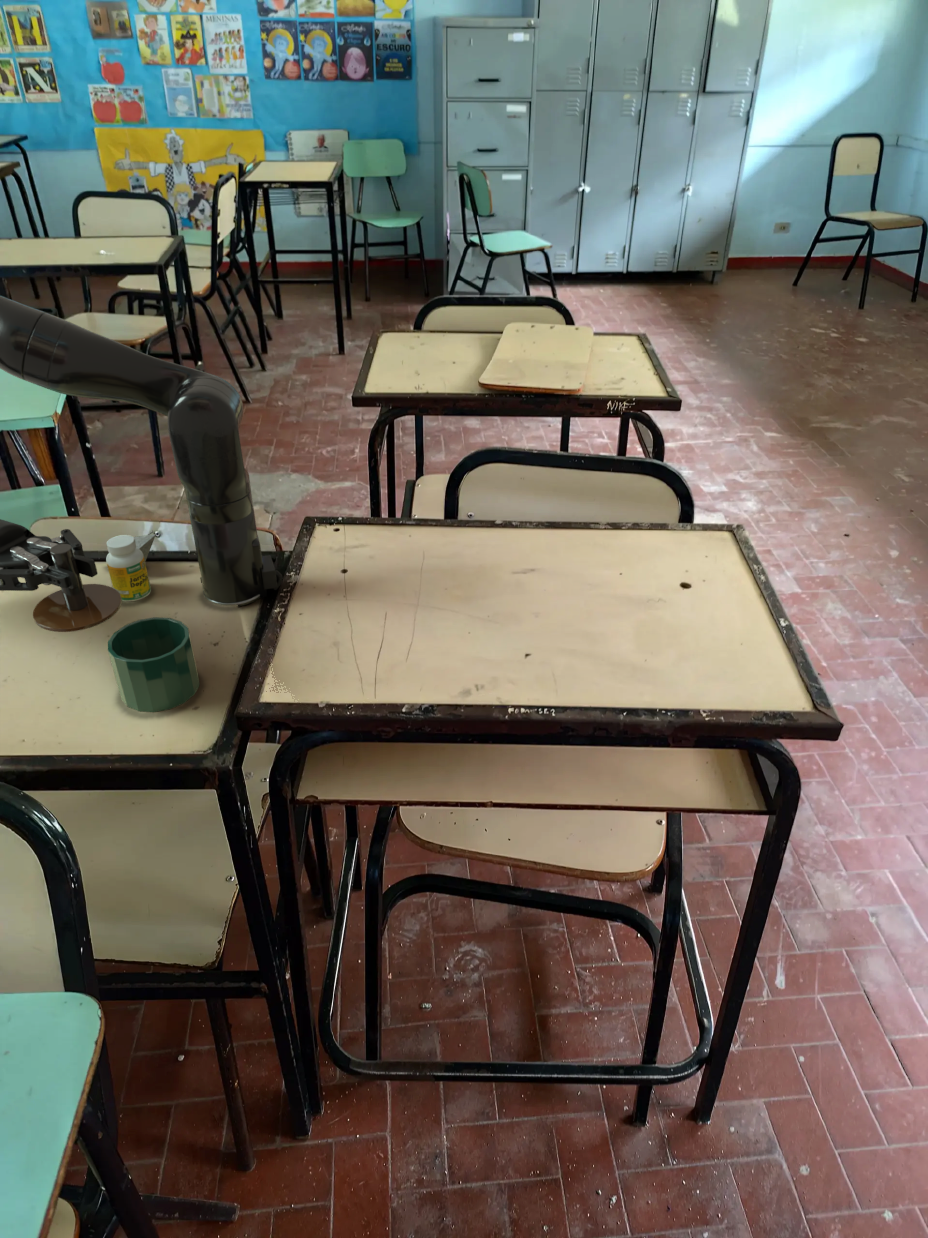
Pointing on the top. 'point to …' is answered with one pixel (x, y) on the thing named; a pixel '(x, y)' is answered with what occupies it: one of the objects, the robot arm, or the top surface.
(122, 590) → the supplement bottle
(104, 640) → the top surface
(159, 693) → the canister
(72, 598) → the lid
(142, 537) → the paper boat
